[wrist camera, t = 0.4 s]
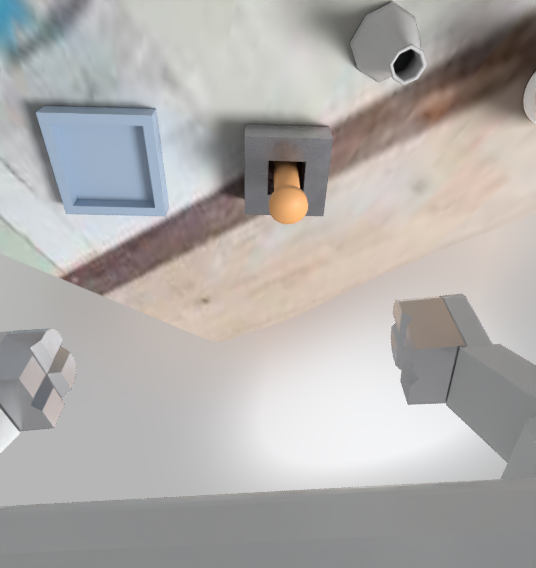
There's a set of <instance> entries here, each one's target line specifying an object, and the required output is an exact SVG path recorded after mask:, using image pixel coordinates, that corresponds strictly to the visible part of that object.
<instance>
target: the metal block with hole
mask: <svg viewBox="0 0 536 568" xmlns="http://www.w3.org/2000/svg"><path fill="white" fill-rule="evenodd" d="M332 141H333V138H332V135H331V132H330V128H329V127H328V126H292V125H255V124H246V126H245V135H244V159H245V214H253V215H271V214H270V211H269V199H270V196H271V194H272V193H273V192H274V181H268V161H297V162H303V164H302V177H301V181H299V184H300V189H301V190H302V191H303V192H304V193H305V195H306V197H307V202H308V210H307V213H306V215H305V216H323V214H324V206H325V198H326V190H327V182H328V174H329V165H330V157H331V149H332Z"/></svg>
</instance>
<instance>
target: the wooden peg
mask: <svg viewBox="0 0 536 568" xmlns="http://www.w3.org/2000/svg"><path fill="white" fill-rule="evenodd" d="M273 168H274V192H273V193H272V194H271V196H270V199H269V211H270V214H271V216H272V217H273V218H274V219H275V220H276V221H278V222H280V223H283V224H293V223H296V222H298V221H300V220H301V219H302V218H303V217H304V216H305V215H306V213H307V210H308V202H307V197H306V195H305V193H304V192H303V191H302V190H301V189H300V184H299V176H298V168H297V161H274V164H273Z"/></svg>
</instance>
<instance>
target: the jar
mask: <svg viewBox="0 0 536 568" xmlns="http://www.w3.org/2000/svg"><path fill="white" fill-rule="evenodd" d="M523 104H524V110H525V113H526V115H527V117H528V118H529V119H530V120H531V121H532V122H533V123H535V124H536V71H535V73H534V74H533V75H532V77H531V78H530V80H529V82H528V84H527V87H526V89H525V93H524V99H523Z"/></svg>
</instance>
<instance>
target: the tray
mask: <svg viewBox="0 0 536 568" xmlns="http://www.w3.org/2000/svg"><path fill="white" fill-rule="evenodd" d="M36 115H37V118H38V122H39V125H40V128H41V132H42V135H43V138H44V142H45V145H46V148H47V152H48V155H49V158H50V162H51V165H52V168H53V172H54V175H55V178H56V182H57V185H58V188H59V192H60V195H61V198H62V202H63V205H64V208H65V212H66V214H88V215H130V216H166V214H167V211H168V208H169V205H168V197H167V189H166V182H165V174H164V166H163V158H162V151H161V143H160V135H159V128H158V120H157V112H156V109H142V108H106V107H70V106H43V107H42V108H41V109H39V110H38V111H37V112H36Z"/></svg>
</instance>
